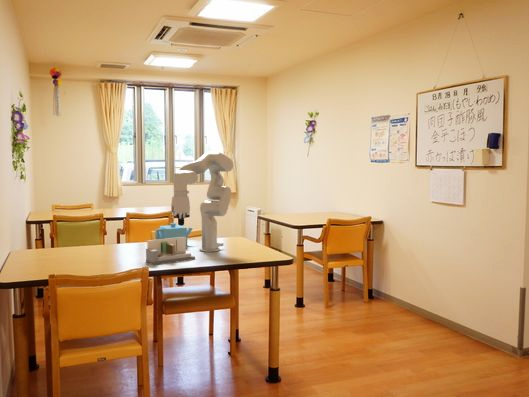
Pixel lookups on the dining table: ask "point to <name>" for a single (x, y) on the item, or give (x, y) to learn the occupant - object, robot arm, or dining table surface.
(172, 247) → the gauge slider
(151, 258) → the gauge base
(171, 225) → the container
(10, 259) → the dining table surface
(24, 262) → the dining table surface
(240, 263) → the dining table surface
